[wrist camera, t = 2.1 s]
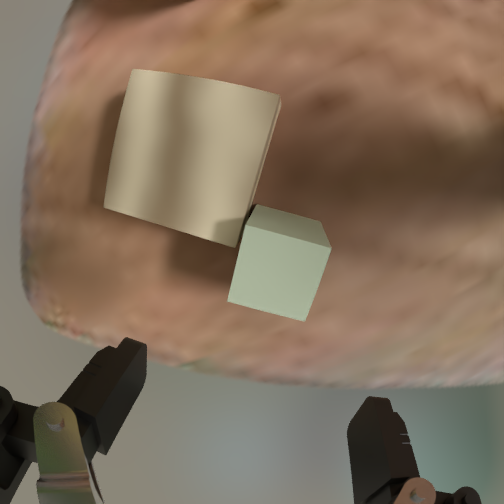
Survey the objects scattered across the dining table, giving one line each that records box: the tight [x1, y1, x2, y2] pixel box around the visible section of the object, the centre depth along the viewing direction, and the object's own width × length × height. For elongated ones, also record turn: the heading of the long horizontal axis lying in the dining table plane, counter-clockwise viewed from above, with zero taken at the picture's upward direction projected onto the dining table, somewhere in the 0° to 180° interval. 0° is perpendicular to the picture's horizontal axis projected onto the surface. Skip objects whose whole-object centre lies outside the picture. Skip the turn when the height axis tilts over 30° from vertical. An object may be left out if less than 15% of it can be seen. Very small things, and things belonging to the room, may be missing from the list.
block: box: [227, 204, 332, 321], centre depth 23 cm, size 6×6×7 cm
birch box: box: [104, 69, 281, 248], centre depth 22 cm, size 11×11×5 cm
